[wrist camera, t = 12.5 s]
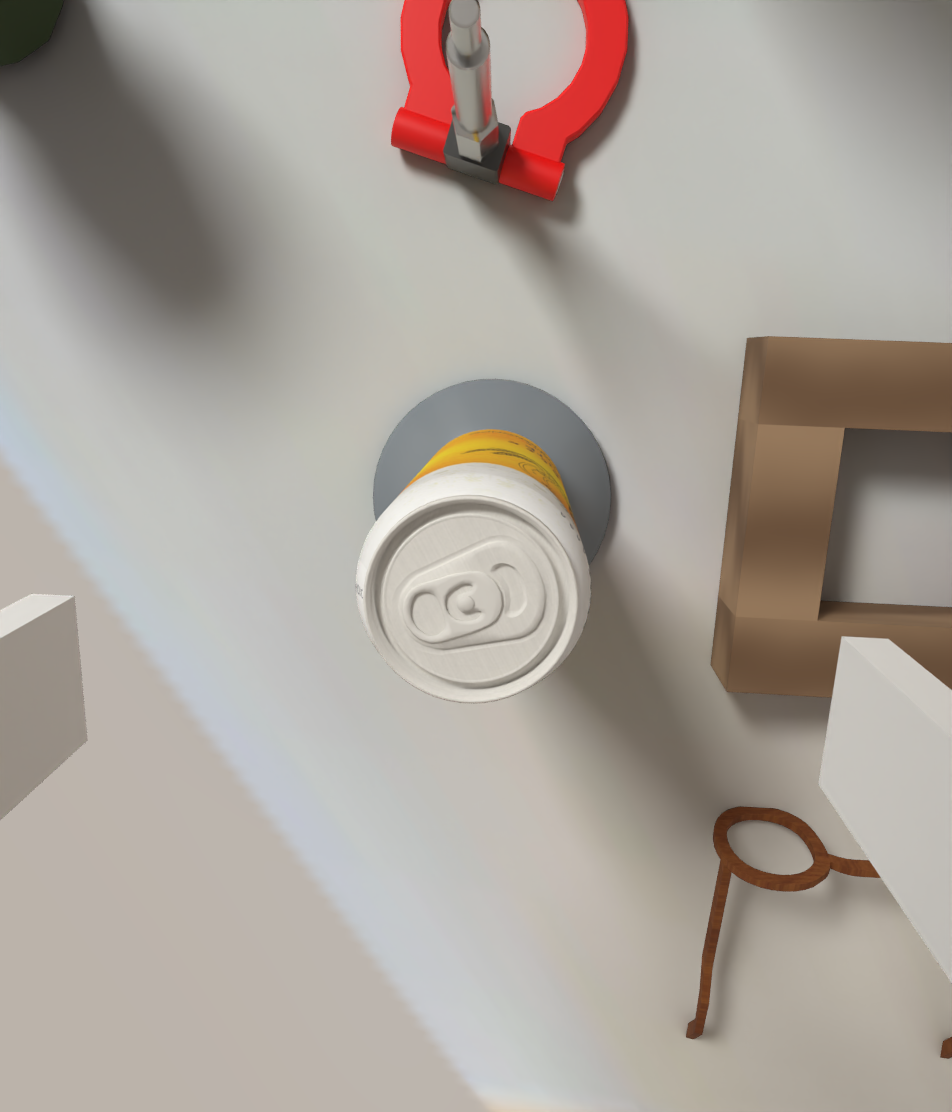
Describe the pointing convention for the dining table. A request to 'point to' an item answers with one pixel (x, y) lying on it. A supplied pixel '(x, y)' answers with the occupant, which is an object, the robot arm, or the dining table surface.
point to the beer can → (476, 572)
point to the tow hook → (468, 108)
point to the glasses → (766, 887)
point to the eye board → (815, 508)
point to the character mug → (25, 26)
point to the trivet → (510, 412)
